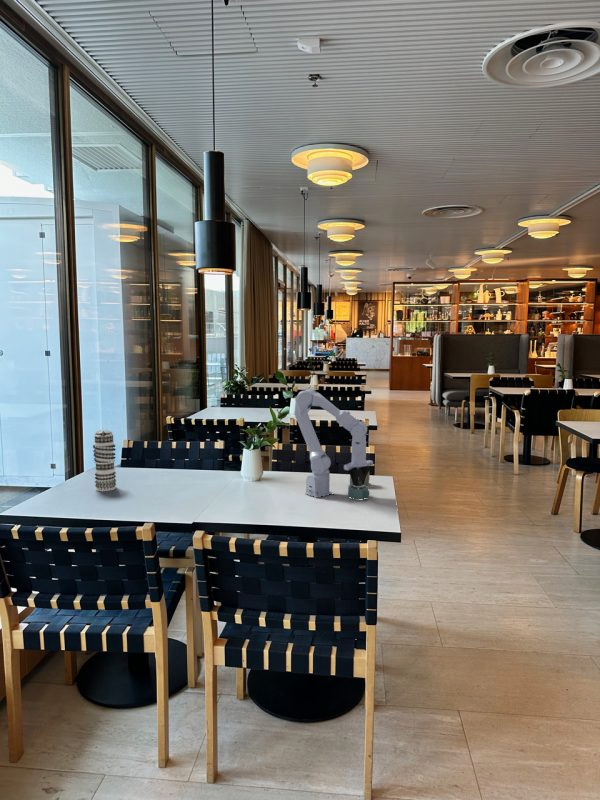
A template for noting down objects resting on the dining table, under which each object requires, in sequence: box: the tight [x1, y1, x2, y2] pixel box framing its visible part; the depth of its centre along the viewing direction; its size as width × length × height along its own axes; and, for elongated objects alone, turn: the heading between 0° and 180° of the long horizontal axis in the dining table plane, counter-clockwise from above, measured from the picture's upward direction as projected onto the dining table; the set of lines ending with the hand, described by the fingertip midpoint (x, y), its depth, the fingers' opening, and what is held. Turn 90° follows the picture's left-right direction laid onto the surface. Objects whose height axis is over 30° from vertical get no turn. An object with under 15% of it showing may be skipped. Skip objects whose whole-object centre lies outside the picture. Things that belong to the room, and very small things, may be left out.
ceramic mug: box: [349, 469, 371, 487], centre depth 246 cm, size 11×8×8 cm
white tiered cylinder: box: [92, 429, 117, 492], centre depth 238 cm, size 9×9×25 cm
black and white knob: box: [353, 479, 364, 489], centre depth 227 cm, size 6×6×6 cm
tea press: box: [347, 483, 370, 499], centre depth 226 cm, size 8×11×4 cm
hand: (358, 485), depth 226 cm, fingers closed on black and white knob, 3 cm apart
